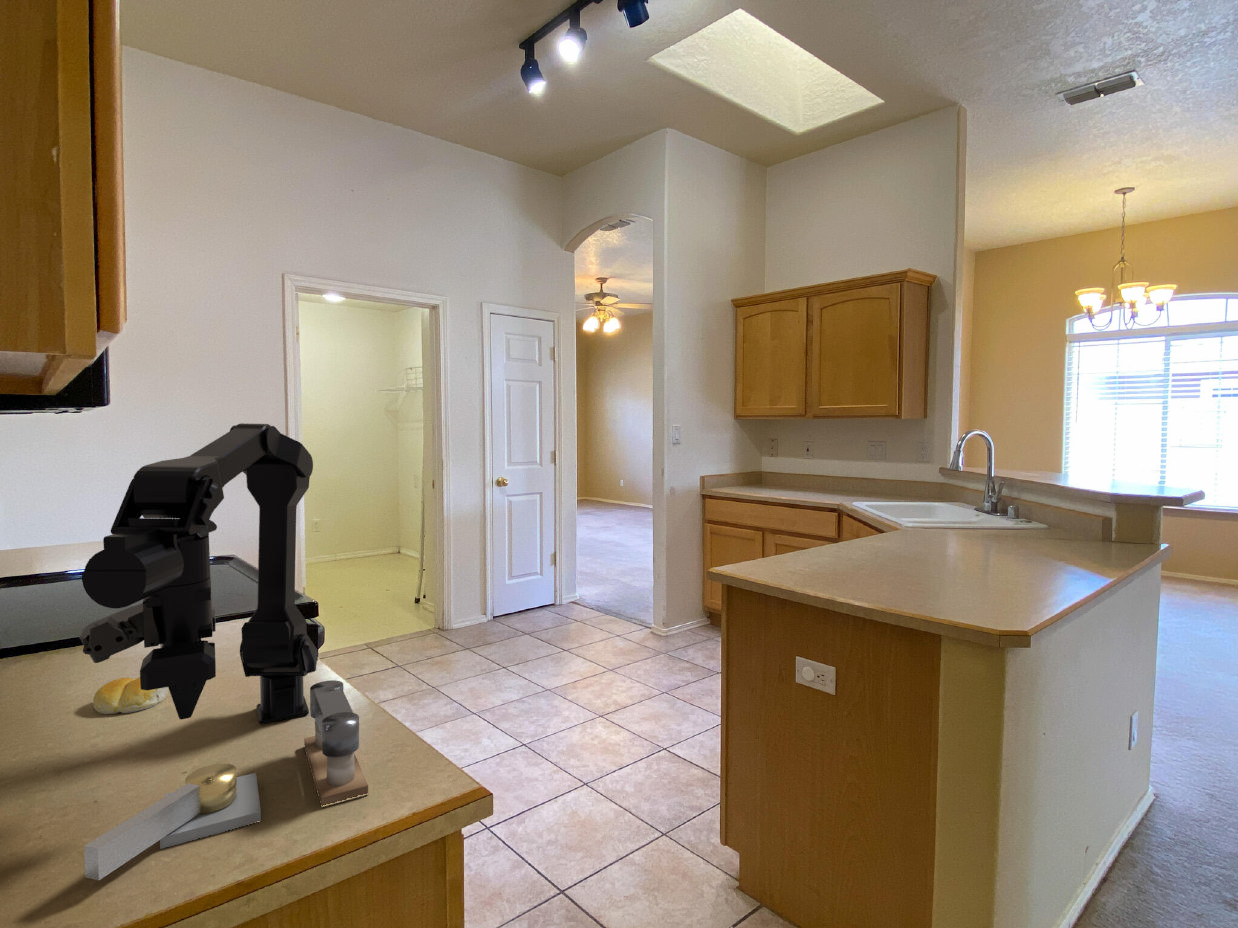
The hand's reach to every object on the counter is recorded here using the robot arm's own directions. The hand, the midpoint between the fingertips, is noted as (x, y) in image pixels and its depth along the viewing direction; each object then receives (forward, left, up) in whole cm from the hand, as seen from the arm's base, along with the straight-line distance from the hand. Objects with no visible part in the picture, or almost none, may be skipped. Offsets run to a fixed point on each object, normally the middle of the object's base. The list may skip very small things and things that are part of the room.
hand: (185, 717), depth 73 cm
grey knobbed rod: (-1, +15, -5) cm, 16 cm away
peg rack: (-1, +15, -11) cm, 19 cm away
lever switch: (+6, -2, -9) cm, 11 cm away
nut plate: (+2, +2, -11) cm, 11 cm away
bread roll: (-36, -8, -11) cm, 39 cm away
